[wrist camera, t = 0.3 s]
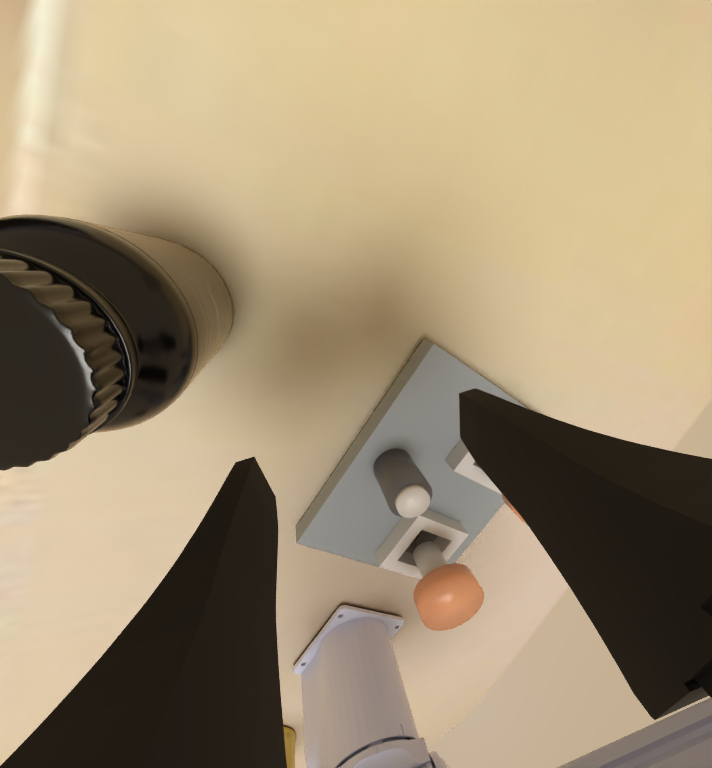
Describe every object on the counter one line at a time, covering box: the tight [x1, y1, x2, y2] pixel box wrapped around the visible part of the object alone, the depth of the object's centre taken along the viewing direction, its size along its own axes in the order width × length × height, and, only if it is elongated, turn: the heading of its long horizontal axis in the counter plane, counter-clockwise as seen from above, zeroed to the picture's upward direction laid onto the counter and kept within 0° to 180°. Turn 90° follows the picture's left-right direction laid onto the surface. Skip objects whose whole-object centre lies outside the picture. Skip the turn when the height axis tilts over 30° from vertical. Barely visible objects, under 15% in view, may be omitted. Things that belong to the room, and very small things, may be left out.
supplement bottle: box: [0, 215, 233, 470], centre depth 11 cm, size 7×7×12 cm
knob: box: [413, 541, 484, 631], centre depth 22 cm, size 5×5×4 cm
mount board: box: [296, 339, 528, 579], centre depth 24 cm, size 18×15×3 cm
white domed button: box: [373, 448, 433, 518], centre depth 21 cm, size 3×3×4 cm
